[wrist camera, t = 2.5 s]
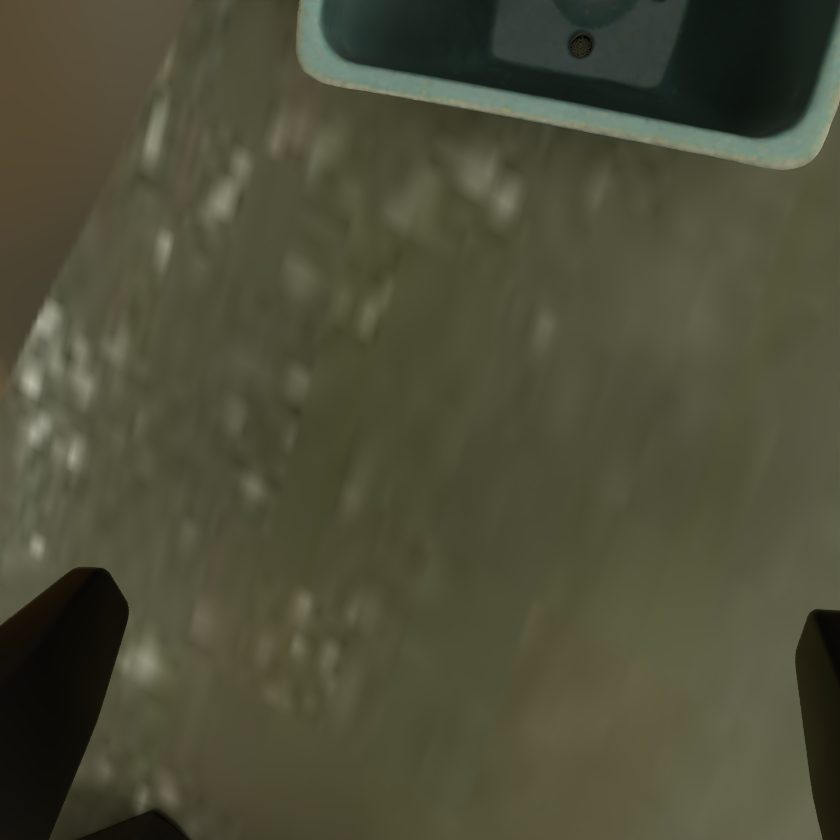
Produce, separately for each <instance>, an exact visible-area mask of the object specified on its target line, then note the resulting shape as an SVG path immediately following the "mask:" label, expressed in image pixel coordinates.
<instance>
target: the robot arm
mask: <svg viewBox="0 0 840 840" xmlns="http://www.w3.org/2000/svg"><path fill="white" fill-rule="evenodd" d="M128 615H129V607H128V603H127V601H126V599H125V597H124V596H123V594H122V593H121V591H120V589H119V588H118V586H117V584H116V583H115V581H114V579H113V578H112V576H111V574H110V573H109V572H108V571H107V570H105V569H104V568H96V567H78V568H75V569H73V570H71V571H70V572H68V573H67V574H65V575H64V576H63V577H62V578H60V579H59V580H58V581H57V582H55V583H54V584H53V585H51V586H50V587H49V588H48V589H46V590H45V591H44V592H42V593H41V594H40V595H39V596H37V597H36V598H35V599H33V600H32V601H31V602H30V603H28V604H27V605H26V606H24V607H23V608H22V609H21V610H19V611H18V612H17V613H15V614H14V615H13V616H12V617H10V618H9V619H8V620H6V621H5V622H4V623H3V624H1V625H0V840H49V838H50V835H51V833H52V830H53V828H54V826H55V823H56V821H57V818H58V816H59V813H60V811H61V809H62V806H63V804H64V801H65V799H66V796H67V794H68V792H69V789H70V787H71V784H72V782H73V780H74V777H75V775H76V772H77V770H78V767H79V765H80V763H81V760H82V758H83V755H84V753H85V750H86V748H87V746H88V743H89V741H90V738H91V736H92V733H93V730H94V728H95V725H96V723H97V720H98V717H99V714H100V711H101V708H102V705H103V701H104V698H105V695H106V691H107V688H108V685H109V681H110V678H111V675H112V671H113V668H114V665H115V661H116V658H117V655H118V651H119V648H120V645H121V641H122V638H123V635H124V631H125V628H126V625H127V621H128ZM795 664H796V674H797V682H798V690H799V697H800V705H801V712H802V720H803V728H804V735H805V743H806V750H807V758H808V766H809V773H810V780H811V787H812V794H813V800H814V804H815V809H816V813H817V818H818V822H819V826H820V830H821V834H822V838H823V840H840V611H839V610H822V609H815V610H813V611H811V612H810V613H809V615H808V617H807V620H806V623H805V626H804V629H803V631H802V634H801V637H800V640H799V643H798V646H797V649H796V657H795Z"/></svg>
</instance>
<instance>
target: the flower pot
mask: <svg viewBox="0 0 840 840" xmlns="http://www.w3.org/2000/svg"><path fill="white" fill-rule="evenodd" d="M580 35H584V36H587V37H589V38H590V40H591V44H592V49H591V51H590V53H589V54H588V55H586V56H585V57H581V58H579V57H576V56H575V55H574V54H573V53H572V50H571V43H572V42H573V40H574V39H575V38H576V37H578V36H580ZM296 54H297V59H298V63H299V65H300V67H301V68H302V70H303V71H304V72H305V73H306V74H307V75H308V76H310V77H311V78H313V79H314V80H316V81H318V82H321V83H324V84H328V85H332V86H337V87H342V88H348V89H356V90H362V91H367V92H372V93H377V94H382V95H388V96H394V97H400V98H406V99H412V100H418V101H423V102H429V103H435V104H440V105H446V106H451V107H457V108H462V109H467V110H473V111H478V112H484V113H489V114H494V115H500V116H505V117H510V118H515V119H520V120H526V121H531V122H536V123H541V124H546V125H551V126H557V127H562V128H567V129H572V130H577V131H583V132H588V133H593V134H598V135H603V136H609V137H614V138H619V139H624V140H630V141H635V142H640V143H645V144H650V145H656V146H661V147H666V148H671V149H676V150H680V151H685V152H690V153H694V154H699V155H704V156H708V157H713V158H719V159H724V160H728V161H733V162H738V163H744V164H749V165H754V166H759V167H763V168H768V169H775V170H789V169H793V168H798V167H802V166H804V165H805V164H807V163H809V162H810V161H812V160H813V159H814V158H815V157H816V155H817V154H818V153H819V151H820V150H821V148H822V145H823V143H824V141H825V139H826V137H827V134H828V131H829V128H830V125H831V122H832V120H833V117H834V115H835V113H836V111H837V107H838V104H839V101H840V0H300V3H299V9H298V12H297V30H296Z"/></svg>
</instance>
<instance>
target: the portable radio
mask: <svg viewBox="0 0 840 840" xmlns="http://www.w3.org/2000/svg"><path fill="white" fill-rule="evenodd" d="M80 840H186V839H185V838H184V837H183V836H182V835H181V834H180V833H179V832H177V831H176V830H175V829H174V828H173V827H172V826H171V825H169V824H168V823H167V822H165V821H164V820H162V819H161V818H160V817H158V816H157V815H155V814H154V813H152V812H150V813H147V814H144V815H142V816H139V817H137V818H134V819H132V820H129V821H127V822H124V823H121V824H119V825H116V826H114V827H111V828H109V829H106V830H104V831H101V832H98V833H96V834H93V835H91V836H88V837H86V838H83V839H80Z"/></svg>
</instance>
